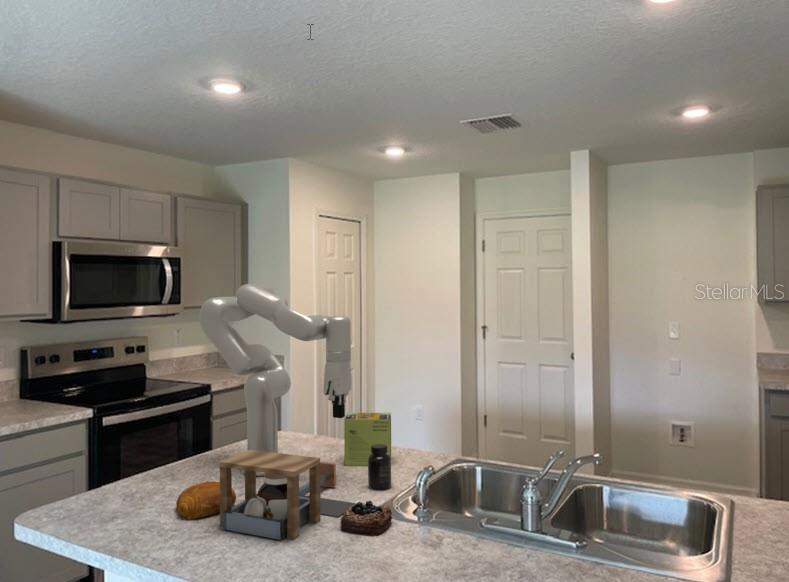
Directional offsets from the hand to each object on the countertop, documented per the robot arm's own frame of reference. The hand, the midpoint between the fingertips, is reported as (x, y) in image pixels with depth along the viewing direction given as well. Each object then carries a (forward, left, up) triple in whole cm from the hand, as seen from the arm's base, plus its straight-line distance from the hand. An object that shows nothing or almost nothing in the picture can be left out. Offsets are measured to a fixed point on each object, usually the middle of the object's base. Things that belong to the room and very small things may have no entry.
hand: (338, 417), depth 181 cm
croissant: (-22, -34, -20) cm, 45 cm away
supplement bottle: (+14, -1, -19) cm, 24 cm away
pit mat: (+1, -22, -19) cm, 29 cm away
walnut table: (0, -36, -19) cm, 41 cm away
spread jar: (0, -36, -19) cm, 41 cm away
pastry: (+23, -29, -20) cm, 41 cm away
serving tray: (0, -25, -19) cm, 31 cm away
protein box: (0, +21, -19) cm, 29 cm away
